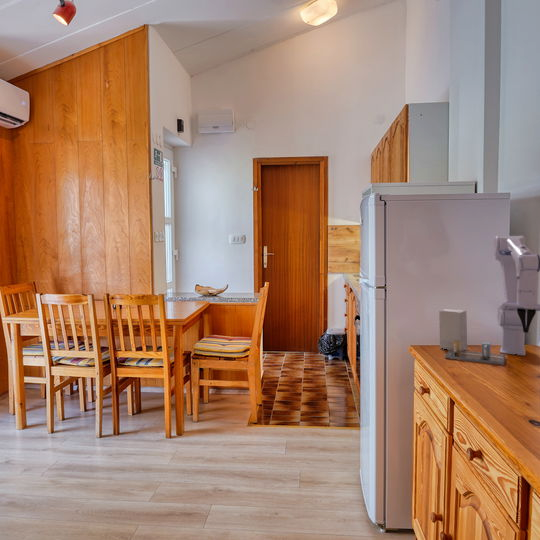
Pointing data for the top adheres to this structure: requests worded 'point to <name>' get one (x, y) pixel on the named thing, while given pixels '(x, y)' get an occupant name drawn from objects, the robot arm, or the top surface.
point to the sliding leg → (486, 349)
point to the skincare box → (453, 328)
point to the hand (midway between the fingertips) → (525, 332)
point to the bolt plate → (473, 355)
